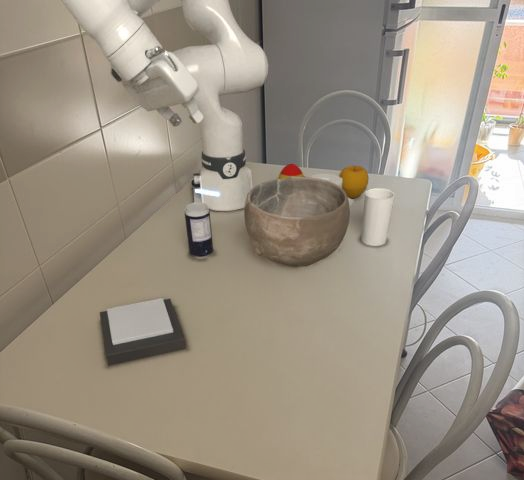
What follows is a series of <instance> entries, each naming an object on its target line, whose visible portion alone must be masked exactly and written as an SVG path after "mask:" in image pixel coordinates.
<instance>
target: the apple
mask: <svg viewBox="0 0 524 480" xmlns="http://www.w3.org/2000/svg"><path fill="white" fill-rule="evenodd" d="M368 173H369V172H368V170H367V169H366V168H365V167H363V166H361V165H347V166H346V167H343V169H342V170H340V172H339V175H338V176H339V177H341V178H342V189H343V190H344V191H345V193H346V195H347V197H348V198H350V199H357V198H359V197H361V195H363V193H365V191H366V189H367V186H368V184H369V179H370V178H369V174H368Z"/></svg>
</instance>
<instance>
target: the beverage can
mask: <svg viewBox="0 0 524 480" xmlns="http://www.w3.org/2000/svg"><path fill="white" fill-rule="evenodd" d="M184 220H185V229H186V236H187V244H188V252H189V255H191V256H193V258H196V259H206V258H208V257H210V255H211V254H212V253H213V252H214V245H213V244H214V243H213V234H212V221H211V212H210V209H208V208H207V205H206V204H205V203H200V202H196V203H194V202H191V203H188V204H187V205H186V206H185V210H184Z"/></svg>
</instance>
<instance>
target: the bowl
mask: <svg viewBox="0 0 524 480" xmlns="http://www.w3.org/2000/svg"><path fill="white" fill-rule="evenodd" d="M350 208H351V207H349V201H348V197H347V195H346V193H345V191H344V190H343V189H342V188H341V187H340V186H338V185H336V184H335V183H333V182H330V181H327V180H324V179H319V178H311V176H304V177H298V176H297V177H287V178H282V179H278V178H275V179H272V180H269V181H268V180H267V181H266V182H265V181H264V182H261V183H259V184H257V185H255V186H254V187H252V190H251V191H250V192H249V193H248V194H247V199H246V201H245V207H244V213H243V214H244V216H243V217H244V224H245V229H246V233H247V235H248V239H249V241H250V243H251V244H252V246H253V247H254V250H253V251H254V253H255V254H256V255H258V256H263V257H265V258H266V259H267V260H270V261H271V262H274V263H275V264H278V265H281V266H286V267H291V268H302V267H309V266H311V265H314V264H316V263H318V262H320V261H322V260H324V259H326V258H328V257H329V256H330V255H332V254H333V253H335V252H336V250H337V249H338V248H339V247H340V246H341V244H342V242H343V240H344V238H345V237H346V236H345V235H346V234H347V231H348V227H349V223H350V214H351V211H350V210H351V209H350Z"/></svg>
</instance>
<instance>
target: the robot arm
mask: <svg viewBox="0 0 524 480" xmlns="http://www.w3.org/2000/svg"><path fill="white" fill-rule="evenodd" d="M61 1H62V3H63V5H64V6H65V8H66V9H67V10H68V11H69V13H70V14H71V16H72V17H73V19H74V20H75V21H76V22H77V24H78V25H79V26H80V27H81V29H82V30H83V31H84V32H85V34H86V35H88V36H89V37H90V38H91V39H92V40H94V41H95V43H97V45H98V46H99V48H100V49H101V52H102V54H103V56H104V57H105V58H106V60H107V61H108V62H109V63H110V75H111V77H112V78H113V79H114V80H115V82H116V83H121V85H122V87H123V88H124V89H125V91H126V92H127V93H128V94H129V95H130V96H131V97H132V98H133V99H134V101H135V102H136V103H137V104H138V105H139V106H140V107H141V108H142V109H144V111H145V110H146V112H153V111H157V113H158V114H159V115H161V116H162V117H163V118H165V119H166V120H167V121H168V122H169V123H170V124H171V126H172V127H179V126H180V124H181V123H182V122H183V119H182V118H181V117H180V115H179V114H178V113H176V112H174V110H172V108H171V107H173V106H177V105H181V106H182V107H183V108H184V109H186V111H187V112H188V117H189V119H190V120H191V121H192V123H193V124H198V126H199V133H200V139H201V146H202V151H201V156H200V160H201V166H200V168H199V170H198V172H195V173H192V175H193V179H192V180H191V182H190V183H191V186H192V187H193V188H192V189H193V191H192V192H193V203H196V202H200V203H205V204H206V205H207V208H208V209H209V210H212V211H216V212H217V211H218V212H229V211H231V212H232V211H236V210H240V209H244V208H245V201H246V199H247V194H248V193H249V192H250V191H251V190H252V189H253V179H252V171H251V169H250V168H249V167H248V166H247V165H246V164H247V157H246V156H247V155H246V150H245V149H244V131H243V129H244V128H243V122H242V119H241V117H240V116H239V115H238V114H237V113H236V112H234V111H232V110H231V109H229V108H226V107H223V106H221V103H220V97H221V96H227V95H228V96H229V95H236V94H244V93H248V92H251V91H255V90H257V89H259V88H262V87H263V86H264V84H265V82H266V80H267V78H268V74H269V61H268V57H267V55H266V52H265V51H264V49H263V48H262V46H261V45H259V44H258V43H256V42H254V40H252V39H251V38H250V37H249V36H248V35H247V34H245V32H244V31H243V30H242V28H241V27H240V25H239V24H238V23H237V20H236V19H235V16H234V14H233V12H232V9H231V4H230V1H229V0H180V3H181V8H182V12H183V17H184V20H185V22H186V23H187V25H188V26H189V27H190V28H191V29H192V30H193V31H194V32H196V33H198V34H200V35H203V36H204V37H205V38H207V40H208V41H209V42H210V44H202V45H190V46H186V47H183V48H180V49H176V50H174V51H167V50H166V49H165V50H164V49H163V46H162V44H161V42H160V41H159V40H158V39H157V37H156V36H155V35H154V33H153V32H152V30H151V29H150V28H149V26H148V25H147V24H146V22H145V21H144V19H143V18H141V17H142V16H143V15H144V14H146V13H147V12H148V11H149V10H151V9H153V7H154V6H155V5H156V4H158V3H159V2H160V1H161V0H61Z"/></svg>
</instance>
